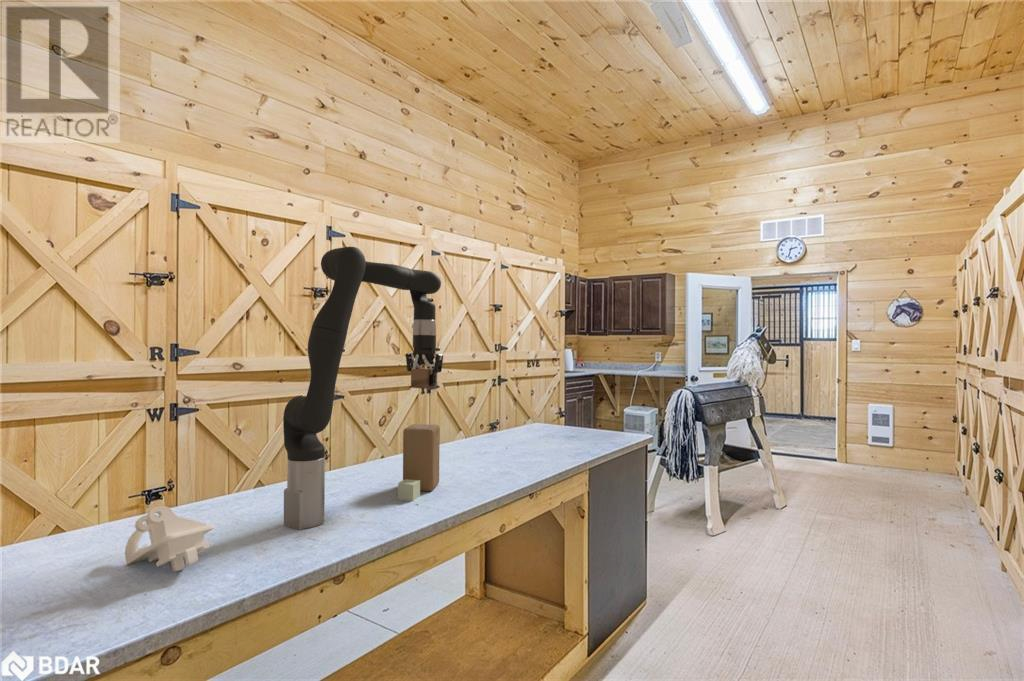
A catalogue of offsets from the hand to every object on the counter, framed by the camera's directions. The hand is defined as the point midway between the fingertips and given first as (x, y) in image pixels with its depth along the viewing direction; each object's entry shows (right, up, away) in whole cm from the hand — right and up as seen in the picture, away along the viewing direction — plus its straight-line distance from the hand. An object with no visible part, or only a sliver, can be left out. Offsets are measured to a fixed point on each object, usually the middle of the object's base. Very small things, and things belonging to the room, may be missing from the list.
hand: (424, 385), depth 175 cm
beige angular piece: (-45, -34, -60) cm, 82 cm away
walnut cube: (0, -1, 0) cm, 1 cm away
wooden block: (-1, -34, +1) cm, 34 cm away
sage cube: (-3, -34, -11) cm, 35 cm away
